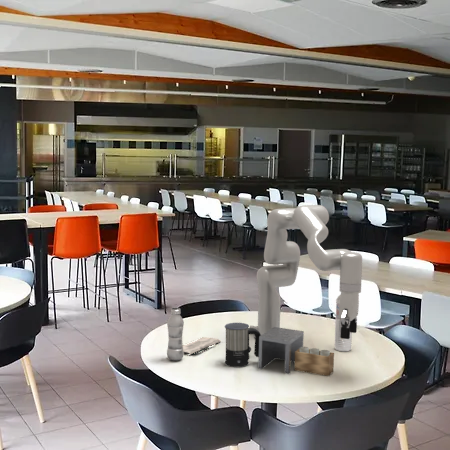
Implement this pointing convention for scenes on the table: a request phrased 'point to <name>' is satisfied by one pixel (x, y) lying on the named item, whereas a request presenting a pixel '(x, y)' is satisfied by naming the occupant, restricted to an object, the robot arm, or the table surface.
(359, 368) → the table surface
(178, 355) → the plastic bottle
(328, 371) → the glass carrier
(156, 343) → the table surface
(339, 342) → the water bottle
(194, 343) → the newspaper
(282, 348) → the gray open-front box
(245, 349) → the milk frother
